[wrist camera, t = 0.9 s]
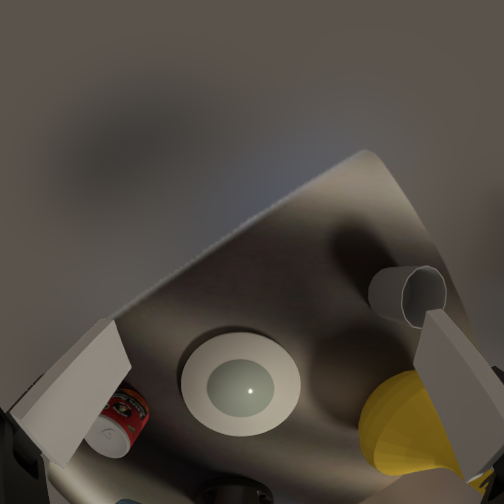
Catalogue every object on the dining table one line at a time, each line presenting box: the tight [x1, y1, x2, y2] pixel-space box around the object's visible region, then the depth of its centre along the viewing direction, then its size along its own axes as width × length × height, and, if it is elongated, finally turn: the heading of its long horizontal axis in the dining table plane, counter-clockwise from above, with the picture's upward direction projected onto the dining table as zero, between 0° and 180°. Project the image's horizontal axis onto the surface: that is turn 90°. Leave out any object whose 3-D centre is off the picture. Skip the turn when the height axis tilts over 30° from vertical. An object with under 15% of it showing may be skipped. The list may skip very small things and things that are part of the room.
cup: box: [368, 266, 447, 329], centre depth 35 cm, size 8×8×10 cm
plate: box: [181, 332, 301, 436], centre depth 38 cm, size 18×18×1 cm
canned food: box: [84, 388, 149, 458], centre depth 32 cm, size 8×8×11 cm
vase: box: [358, 370, 493, 495], centre depth 24 cm, size 18×18×30 cm
